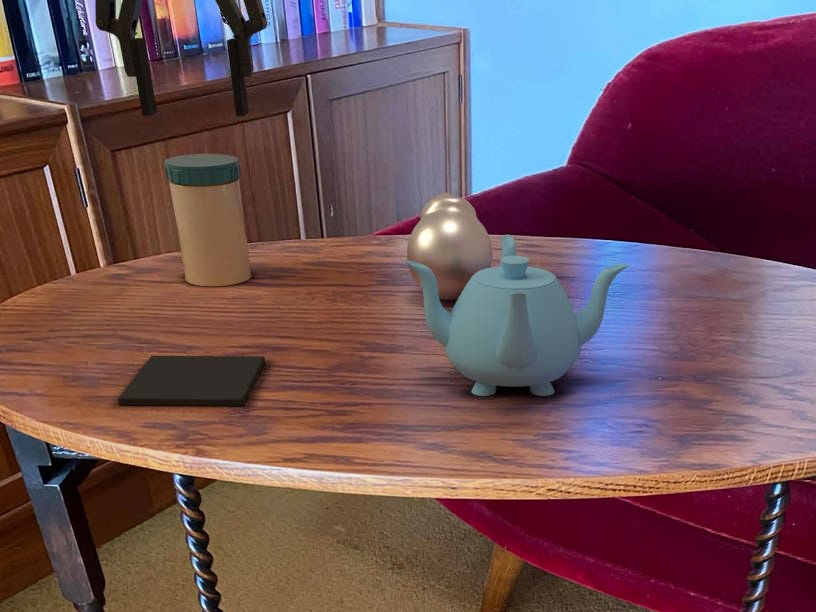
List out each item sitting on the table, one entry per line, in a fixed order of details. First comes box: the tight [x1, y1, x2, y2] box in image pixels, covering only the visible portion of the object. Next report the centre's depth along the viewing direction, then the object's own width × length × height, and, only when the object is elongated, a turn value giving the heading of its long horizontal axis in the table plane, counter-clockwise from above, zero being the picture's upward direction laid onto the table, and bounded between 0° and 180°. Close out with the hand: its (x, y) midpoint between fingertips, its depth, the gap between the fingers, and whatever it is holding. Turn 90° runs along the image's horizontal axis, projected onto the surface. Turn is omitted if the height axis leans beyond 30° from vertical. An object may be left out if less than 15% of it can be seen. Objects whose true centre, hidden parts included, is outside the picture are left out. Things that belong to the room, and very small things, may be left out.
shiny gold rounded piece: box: [406, 191, 494, 301], centre depth 99 cm, size 9×10×10 cm
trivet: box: [117, 355, 266, 407], centre depth 81 cm, size 10×10×1 cm
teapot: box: [404, 234, 629, 397], centre depth 80 cm, size 13×13×10 cm
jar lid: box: [164, 153, 242, 185], centre depth 101 cm, size 8×8×2 cm
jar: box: [168, 178, 252, 287], centre depth 104 cm, size 7×7×11 cm
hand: (196, 114), depth 98 cm, fingers open, 9 cm apart
